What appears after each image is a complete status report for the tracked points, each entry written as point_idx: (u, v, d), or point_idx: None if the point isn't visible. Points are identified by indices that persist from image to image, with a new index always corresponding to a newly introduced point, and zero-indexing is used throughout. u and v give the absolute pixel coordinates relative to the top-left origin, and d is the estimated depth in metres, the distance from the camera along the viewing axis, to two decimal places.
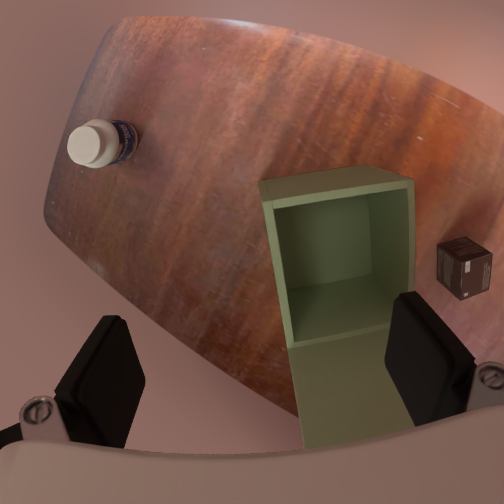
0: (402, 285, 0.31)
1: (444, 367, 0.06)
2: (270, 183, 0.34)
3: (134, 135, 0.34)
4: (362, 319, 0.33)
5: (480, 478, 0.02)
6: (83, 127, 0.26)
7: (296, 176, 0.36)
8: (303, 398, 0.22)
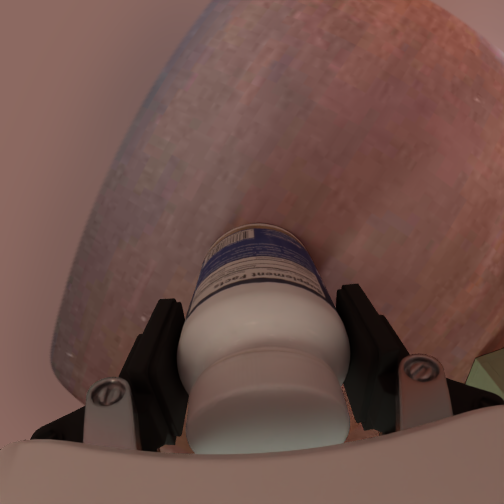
0: None
1: (369, 356, 0.07)
2: None
3: None
4: None
5: (480, 478, 0.02)
6: (287, 392, 0.06)
7: None
8: None
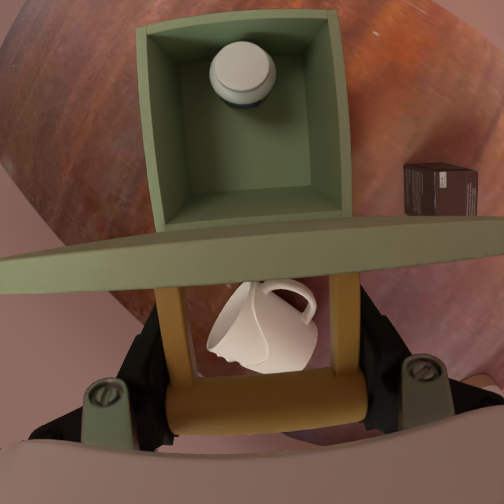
0: (335, 162, 0.22)
1: (371, 356, 0.07)
2: None
3: None
4: (274, 209, 0.23)
5: (480, 478, 0.02)
6: (243, 43, 0.19)
7: None
8: None
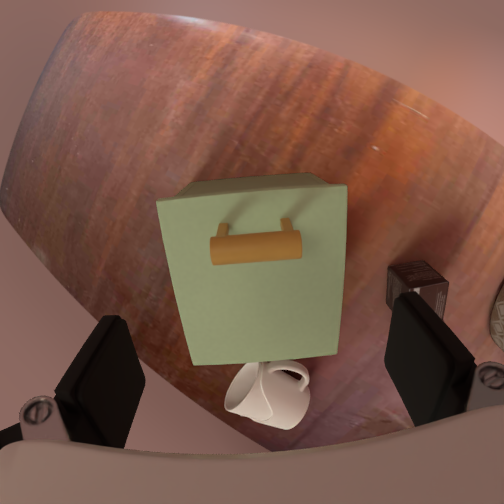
0: None
1: (444, 367, 0.06)
2: (196, 185, 0.33)
3: None
4: None
5: (480, 478, 0.02)
6: None
7: (227, 180, 0.35)
8: None
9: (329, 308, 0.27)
